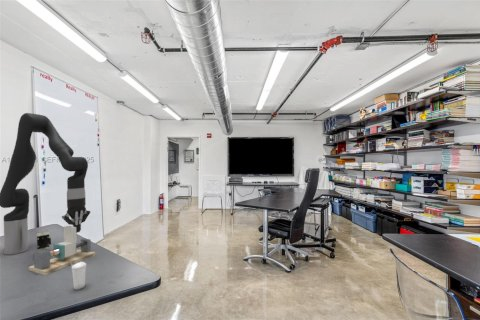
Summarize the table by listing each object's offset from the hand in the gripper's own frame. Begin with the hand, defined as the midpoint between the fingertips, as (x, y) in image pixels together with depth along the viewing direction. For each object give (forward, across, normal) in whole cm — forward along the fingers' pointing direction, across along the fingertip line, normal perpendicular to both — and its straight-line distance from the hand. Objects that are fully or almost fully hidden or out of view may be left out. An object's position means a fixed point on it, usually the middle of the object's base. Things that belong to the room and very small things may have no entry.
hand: (77, 232), depth 117 cm
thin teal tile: (+9, +8, 0) cm, 12 cm away
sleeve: (+9, +5, 0) cm, 11 cm away
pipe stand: (+12, +6, 0) cm, 14 cm away
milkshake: (+13, +18, +29) cm, 37 cm away
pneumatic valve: (+13, +4, -20) cm, 24 cm away
